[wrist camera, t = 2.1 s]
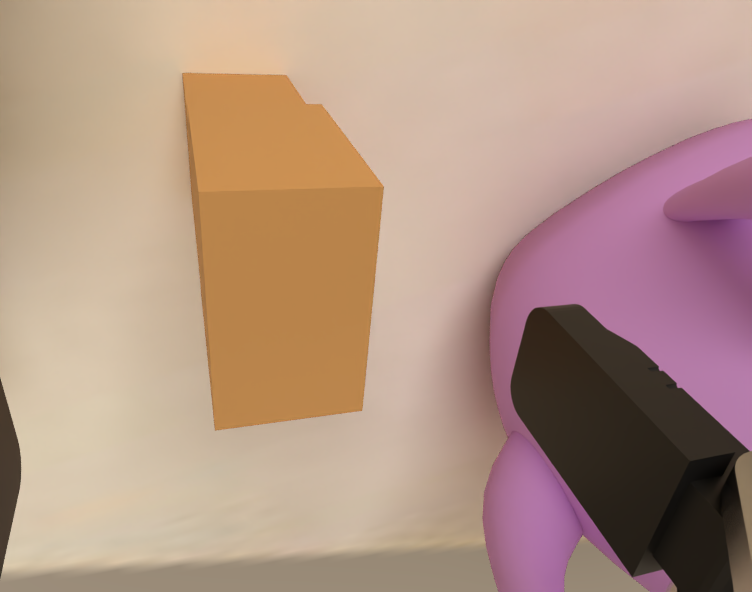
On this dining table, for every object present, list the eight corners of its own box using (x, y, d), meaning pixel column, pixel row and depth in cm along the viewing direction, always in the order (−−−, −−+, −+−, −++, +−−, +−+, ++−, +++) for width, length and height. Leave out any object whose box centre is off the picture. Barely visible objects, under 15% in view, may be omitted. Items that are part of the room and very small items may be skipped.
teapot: (796, -80, 21) (1686, -38, 9) (798, 336, 33) (1163, 591, 21) (205, 256, 21) (264, 745, 9) (426, 542, 34) (575, 908, 22)
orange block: (286, 58, 19) (383, 186, 10) (285, 212, 21) (362, 410, 13) (181, 54, 18) (197, 192, 10) (193, 216, 20) (215, 430, 12)
